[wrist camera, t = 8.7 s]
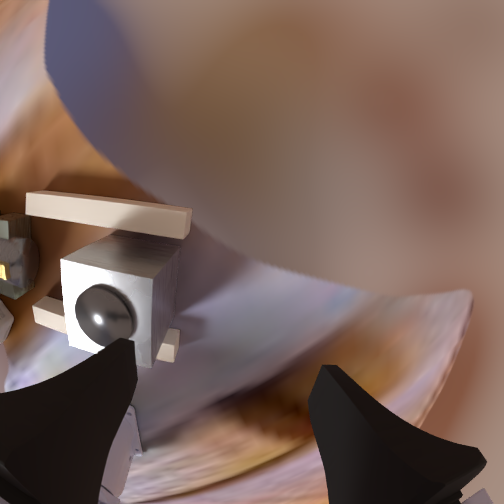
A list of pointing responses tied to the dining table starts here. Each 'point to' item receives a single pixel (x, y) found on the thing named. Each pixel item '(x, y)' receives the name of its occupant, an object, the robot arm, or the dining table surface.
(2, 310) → the ink box
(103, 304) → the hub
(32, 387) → the robot arm
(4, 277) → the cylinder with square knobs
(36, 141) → the dining table surface
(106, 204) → the guide rails
